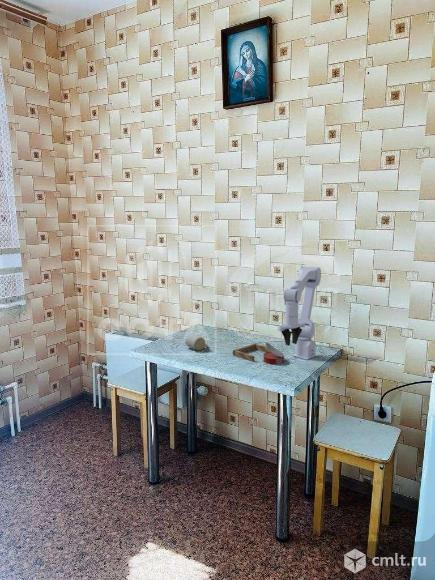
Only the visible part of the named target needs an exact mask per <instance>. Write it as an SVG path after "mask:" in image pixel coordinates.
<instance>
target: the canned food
mask: <svg viewBox="0 0 435 580" xmlns="http://www.w3.org/2000/svg"><path fill="white" fill-rule="evenodd" d="M265 346H266V347H267V348H268V350H269V351H270V352H264V353H263V362H264V363H265V364H269V365H282V364H283V363H284V362H285V355H284V353H283V352H282V351H280V350H279V349H277V348H276V347H274V346H272V345H271V344H270V343H269V342H265Z"/></svg>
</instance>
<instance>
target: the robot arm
mask: <svg viewBox="0 0 435 580" xmlns="http://www.w3.org/2000/svg"><path fill="white" fill-rule="evenodd" d="M321 278H322V269H321V268H320V267H315V266H303V265H302V266H300V267H299V269H298V278H297V279H295V280H294V281H293V282H292V284H290V285H291V286H290V287H289V288H286V289H285V290H284V292H283V301H284V306H285V313H284V315H285V318H284V320H285V321H284V322H285V323H283V324H282V325H278V326H277V331H278V332H280V333H281V334H282V336H283V338H284V342H285V343H284V344H285V345H286V346H287V347H289V346H291V342H292V344H294V345H295V347H294V349H295V350H294V352H295V353H292V354H291V356H293V357H295V358H296V357H297V358H299V359H303V360H306V361H307V360H310V359H312V358H315V357H317V354H316V350H317V349H316V348H317V347H316V346H317V344H316V342H315V340H313V338H314V336H315V331H316V330H315V323H314V321H312V320H311V315H312V310H313V309H312V308H313V303H314V299H315V298H314V297H315V293H316V288H317V287H318V286H320V283H321ZM303 291H304V292H303ZM302 293H304V294H303V300H302V305H301V311H300V315H299V306H300V305H299V304H300V302H301V299H302V298H301V297H302ZM299 316H300V317H299ZM291 336H292V337H291ZM291 339H292V340H291Z"/></svg>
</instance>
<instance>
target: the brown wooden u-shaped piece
mask: <svg viewBox="0 0 435 580" xmlns="http://www.w3.org/2000/svg"><path fill="white" fill-rule="evenodd" d="M254 350H257V351H260V352H264V353H267V352H270V351H269V350H268V348H267V347H266V345H262V344H259V343H252V344H250V345H246V346H243V347H240V348H236V349H233V350H232V356H234V357H236V358H237V357H238V358H241V359H244V360H247V361H248V362H255V355H252V354H249V353H248V352H251V351H254Z"/></svg>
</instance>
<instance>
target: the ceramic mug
mask: <svg viewBox="0 0 435 580" xmlns="http://www.w3.org/2000/svg"><path fill="white" fill-rule="evenodd" d="M185 345H186V346H187V347H188V348H190V349H192V350H195V351H201V350H203V349H204V348H208V346H209V345H208V344H207V343H206V340H205V338H204V337H202V336H200V335H199V334H196V333H194V332H191V333H190V334H188V335H187V336H186V338H185Z"/></svg>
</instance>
